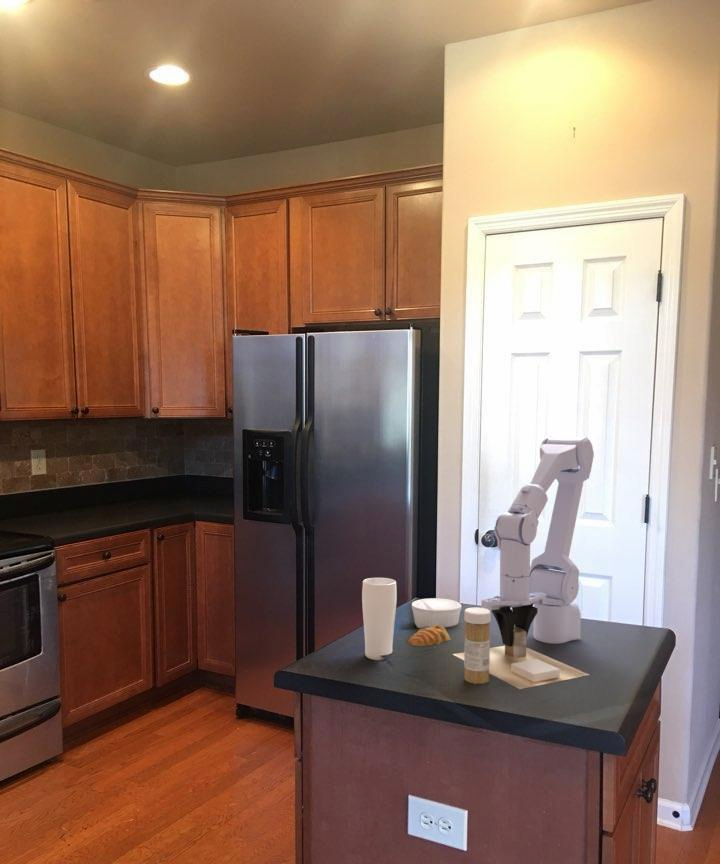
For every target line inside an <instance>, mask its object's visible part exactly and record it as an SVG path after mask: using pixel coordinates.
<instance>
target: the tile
mask: <svg viewBox="0 0 720 864" xmlns="http://www.w3.org/2000/svg"><path fill="white" fill-rule="evenodd" d="M511 671H512V672H513V673H515V674H517V675H519V676H521V677H523V678H525V679H527V680H530V681H532V682H539V681H544V680H549V679H554V678H558V677H560V669H559V668H556V667H554V666H552V665H550V664H547V663H545V662H543V661H541V660H538V659H534V660H529V661H523V662H518V663H512V664H511Z"/></svg>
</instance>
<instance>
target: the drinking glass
mask: <svg viewBox="0 0 720 864" xmlns="http://www.w3.org/2000/svg"><path fill="white" fill-rule="evenodd" d="M361 589H362V590H361V602H362V604H361V605H362V606H361V607H362V619H363V631H364V633H363V634H364V648H365V649H364V654H365V657H366V658H368V659H369V660H373V661H386V660H387V659H386V657H384V656H388V655H390V654H392V653H393V640H394V634H395V633H394V631H395V623H396V622H395V620H396V609H397V596H398V595H397V594H398V593H397V590H398V589H397V581H396V580H395V579H393V578H390V577H389V578H388V577H369V578H365V579H363V581H362V588H361Z"/></svg>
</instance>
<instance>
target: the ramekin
mask: <svg viewBox="0 0 720 864" xmlns="http://www.w3.org/2000/svg"><path fill="white" fill-rule="evenodd" d="M411 610H412V614H413V619H414V624H415V626H416V628H418V629H424V628H430V627H431V626H437V625H439V626H442V627H443V628H450V627H455V626H456V625H459V619H460V615H461V611H462V604H461V603H460V602H458V601H456V600H452V599H448V598H441V597H440V598H435V597H433V598H432V597H431V598H422V599H416V600H414V601H412V602H411Z"/></svg>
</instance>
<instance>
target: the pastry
mask: <svg viewBox="0 0 720 864" xmlns="http://www.w3.org/2000/svg"><path fill="white" fill-rule="evenodd" d="M451 640H452V638H450V635H449V633H448V632H447V630H446V627H442V626H439V625H437V626H431V627H424V628H419V629H418V630H417V631H416V632H415V633H414V634H413V635H411V636H410V637H409V639H408V640H407V644H408V645H410V646H413V647H425V646H426V647H427V646H433V645H439V644H442V643H445V642H447V641H451Z"/></svg>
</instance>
